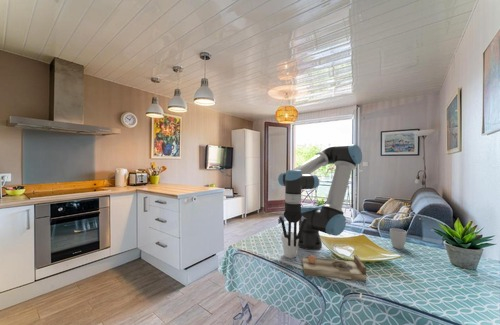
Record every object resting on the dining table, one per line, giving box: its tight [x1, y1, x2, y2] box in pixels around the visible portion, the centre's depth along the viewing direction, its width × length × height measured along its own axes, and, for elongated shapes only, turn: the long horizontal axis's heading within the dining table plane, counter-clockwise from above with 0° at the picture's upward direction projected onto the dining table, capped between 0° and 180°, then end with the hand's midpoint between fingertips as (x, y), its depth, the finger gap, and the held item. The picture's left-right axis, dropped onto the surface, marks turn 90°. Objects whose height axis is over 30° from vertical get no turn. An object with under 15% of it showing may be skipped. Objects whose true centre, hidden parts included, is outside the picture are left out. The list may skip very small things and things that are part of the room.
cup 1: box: [280, 231, 299, 259], centre depth 109 cm, size 10×10×11 cm
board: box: [301, 254, 367, 282], centre depth 94 cm, size 12×25×6 cm, turn 79°
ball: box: [307, 254, 317, 264], centre depth 96 cm, size 4×4×4 cm
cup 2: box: [389, 227, 407, 250], centre depth 123 cm, size 8×8×10 cm
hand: (291, 252), depth 97 cm, fingers closed
